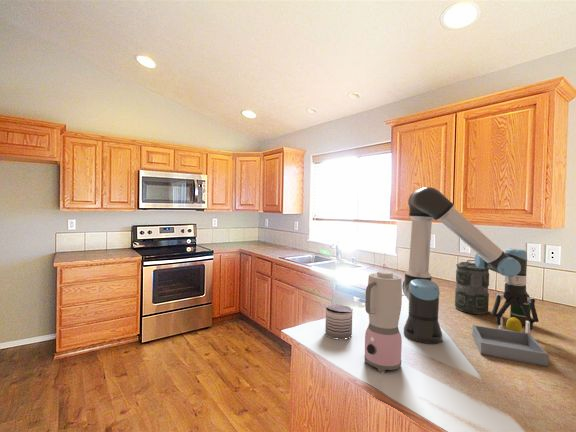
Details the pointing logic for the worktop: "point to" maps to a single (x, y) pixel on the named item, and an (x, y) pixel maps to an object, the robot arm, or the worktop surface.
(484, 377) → the worktop surface
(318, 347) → the worktop surface
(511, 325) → the lemon
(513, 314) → the beer bottle
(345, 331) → the can
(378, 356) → the blender
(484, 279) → the canister
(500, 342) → the box
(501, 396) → the worktop surface
